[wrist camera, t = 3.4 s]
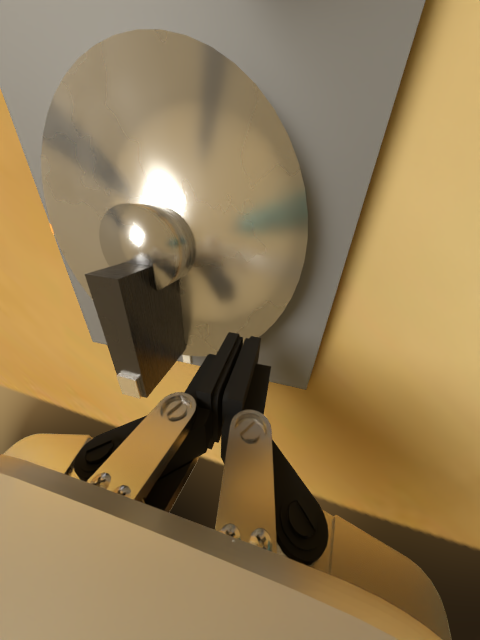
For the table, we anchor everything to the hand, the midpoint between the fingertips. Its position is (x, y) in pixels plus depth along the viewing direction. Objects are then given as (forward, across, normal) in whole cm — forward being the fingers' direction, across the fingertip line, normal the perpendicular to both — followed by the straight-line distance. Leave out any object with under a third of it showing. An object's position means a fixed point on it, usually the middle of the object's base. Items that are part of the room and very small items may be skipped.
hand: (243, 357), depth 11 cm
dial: (+3, +5, -5) cm, 7 cm away
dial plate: (+4, +5, -5) cm, 8 cm away
